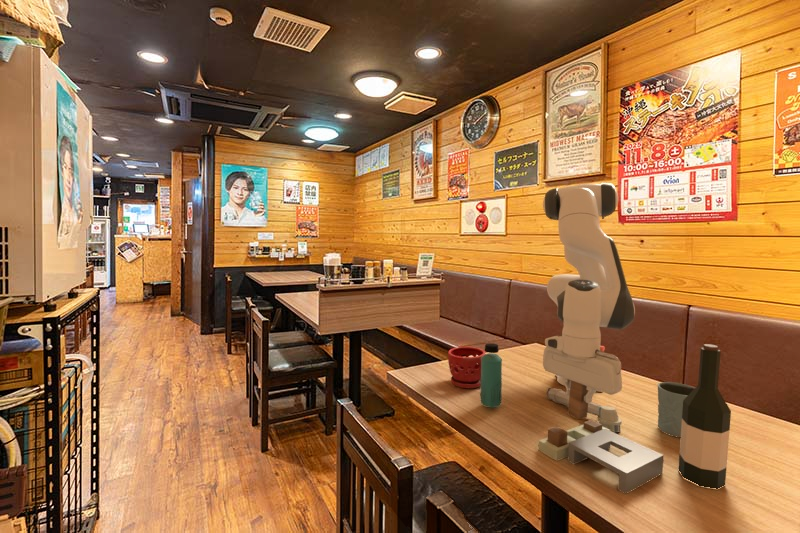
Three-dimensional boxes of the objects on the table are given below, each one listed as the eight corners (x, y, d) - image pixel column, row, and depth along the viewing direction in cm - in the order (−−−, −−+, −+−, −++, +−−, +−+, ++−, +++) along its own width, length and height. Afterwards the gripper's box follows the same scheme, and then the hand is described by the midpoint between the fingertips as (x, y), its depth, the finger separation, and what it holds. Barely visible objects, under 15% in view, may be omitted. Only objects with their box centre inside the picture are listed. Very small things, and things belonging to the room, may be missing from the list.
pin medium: (555, 447, 102) (556, 426, 102) (566, 453, 99) (567, 431, 99) (547, 450, 101) (547, 429, 100) (557, 456, 98) (558, 434, 97)
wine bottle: (669, 468, 93) (677, 340, 91) (702, 466, 94) (712, 340, 91) (698, 491, 85) (709, 351, 82) (735, 489, 86) (746, 351, 83)
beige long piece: (556, 385, 133) (625, 405, 110) (558, 406, 133) (626, 430, 110) (544, 388, 131) (611, 408, 108) (545, 409, 131) (612, 434, 108)
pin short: (590, 433, 109) (591, 419, 109) (601, 439, 106) (602, 424, 106) (583, 436, 108) (583, 422, 107) (594, 442, 105) (594, 427, 104)
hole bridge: (604, 445, 103) (605, 428, 103) (662, 474, 91) (663, 455, 91) (567, 460, 96) (568, 442, 96) (625, 493, 84) (626, 473, 84)
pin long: (575, 412, 105) (579, 378, 105) (586, 417, 102) (590, 382, 102) (567, 414, 103) (571, 379, 103) (578, 419, 101) (582, 383, 100)
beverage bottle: (501, 413, 121) (503, 347, 119) (479, 411, 122) (480, 346, 121) (500, 404, 127) (502, 342, 126) (479, 402, 129) (481, 340, 127)
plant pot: (462, 374, 153) (462, 343, 152) (492, 384, 144) (493, 351, 143) (440, 383, 144) (440, 350, 143) (470, 394, 135) (471, 359, 134)
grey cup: (647, 425, 114) (649, 384, 113) (670, 419, 118) (673, 379, 117) (684, 443, 104) (687, 398, 103) (708, 435, 108) (711, 392, 107)
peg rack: (591, 430, 111) (591, 421, 111) (609, 439, 106) (610, 429, 106) (538, 450, 101) (538, 440, 100) (556, 460, 96) (557, 450, 96)
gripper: (629, 354, 94) (626, 411, 95) (555, 334, 111) (554, 383, 113) (613, 359, 91) (610, 418, 92) (539, 337, 108) (538, 387, 110)
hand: (578, 398), depth 103 cm, fingers closed on pin long, 3 cm apart
